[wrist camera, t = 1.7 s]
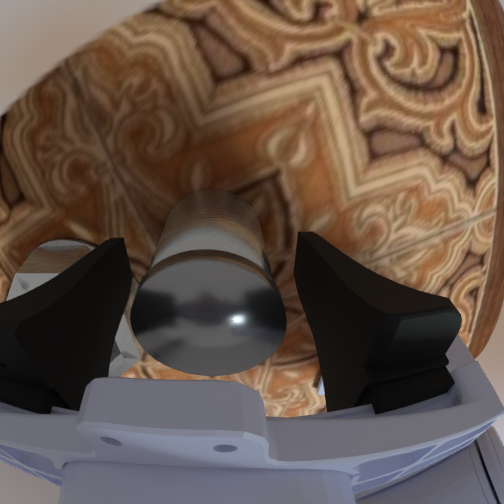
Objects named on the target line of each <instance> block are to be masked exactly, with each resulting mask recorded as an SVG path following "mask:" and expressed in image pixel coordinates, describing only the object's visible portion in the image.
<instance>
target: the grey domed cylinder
mask: <svg viewBox="0 0 504 504" xmlns="http://www.w3.org/2000/svg"><path fill="white" fill-rule="evenodd" d="M130 323H131V328H132V331H133V333H134V336H135V338H136V339H137V341H138V343H139V344H140V345H141V347H142V348H143V349H144V350H145V351H146V352H147V353H148V354H149V355H150V356H152V357H153V358H154V359H156V360H157V361H159V362H161V363H162V364H164V365H166V366H168V367H170V368H173V369H176V370H178V371H182V372H185V373H190V374H195V375H203V376H220V375H228V374H234V373H238V372H241V371H244V370H247V369H250V368H252V367H254V366H256V365H258V364H260V363H262V362H263V361H264V360H266V359H267V358H269V357H270V356H271V355H272V354H273V353H274V352H275V351H276V349H277V348H278V347H279V345H280V344H281V342H282V340H283V338H284V336H285V332H286V325H287V320H286V313H285V309H284V305H283V301H282V297H281V294H280V291H279V288H278V286H277V285H276V283H275V281H274V280H273V279H272V275H271V270H270V266H269V261H268V257H267V253H266V248H265V244H264V240H263V235H262V231H261V227H260V222H259V219H258V216H257V215H256V213H255V211H254V209H253V208H252V207H251V206H250V205H249V204H248V202H246V201H245V200H244V199H243V198H241V197H240V196H238V195H236V194H234V193H231V192H228V191H225V190H219V189H205V190H200V191H196V192H194V193H191V194H189V195H187V196H185V197H184V198H183V199H181V200H180V201H179V202H178V203H177V204H176V205H175V206H174V207H173V209H172V210H171V212H170V214H169V216H168V219H167V221H166V224H165V227H164V229H163V232H162V235H161V237H160V240H159V243H158V245H157V248H156V251H155V254H154V257H153V259H152V262H151V265H150V268H149V270H148V271H147V273H146V274H145V275H144V277H143V278H142V280H141V282H140V284H139V286H138V289H137V292H136V295H135V297H134V300H133V304H132V307H131V311H130Z"/></svg>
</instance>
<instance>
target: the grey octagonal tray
mask: <svg viewBox="0 0 504 504" xmlns="http://www.w3.org/2000/svg"><path fill="white" fill-rule="evenodd" d="M96 247H97V246H96V245H93V244H91V243H88V242H85V241H82V240H78V239H72V238H56V239H51V240H48V241H45V242H43V243H41V244H40V245H38V246H37V247H36V248H35V249H34V250H33V251H32V252H31V254H30V255H29V256H28V258H27V260H26V261H25V262H24V263H23V264H22V266H21V267H20V268H19V269H18V271H17V272H16V273H15V276H14V279H13V282H12V285H11V288H10V291H9V294H8V297H7V301H8V300H10V299H13V298H15V297H17V296H20V295H22V294H24V293H26V292H28V291H30V290H32V289H34V288H36V287H38V286H40V285H42V284H44V283H45V282H47V281H49V280H50V279H52V278H54V277H55V276H57V275H58V274H60V273H61V272H63V271H64V270H66V269H67V268H69V267H70V266H71V265H73V264H74V263H76V262H77V261H78V260H80V259H81V258H82V257H84V256H85V255H86V254H88V253H89V252H91V251H92V250H93V249H95V248H96ZM132 276H133V280H132V285H131V290H130V295H129V298H128V301H127V304H126V307H125V310H124V313H123V316H122V319H121V322H120V325H119V328H118V331H117V334H116V337H115V341H114V344H113V349H112V354H111V360H110V366H109V374H108V377H120V376H121V375H122V374H123V373H124V372H126V371H127V370H128V369H129V368H130V367H132V366H133V365H134V364H135V363H137V362H138V361H139V360H140V359H141V355H142V350H143V348H142V347H141V345H140V344H139V343H138V341H137V339H136V338H135V336H134V333H133V331H132V328H131V323H130V311H131V307H132V304H133V300H134V297H135V295H136V292H137V289H138V286H139V284H140V283H139V282H138V280H137V279H136V277H135V276H134V275H133V274H132Z"/></svg>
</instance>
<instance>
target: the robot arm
mask: <svg viewBox="0 0 504 504" xmlns="http://www.w3.org/2000/svg"><path fill="white" fill-rule="evenodd" d="M294 277H295V282H296V287H297V291H298V295H299V297H300V300H301V303H302V306H303V309H304V311H305V314H306V317H307V320H308V323H309V325H310V328H311V331H312V334H313V337H314V341H315V345H316V349H317V354H318V358H319V363H320V369H321V374H322V375H321V378H320V381H319V384H318V387H317V393H318V394H319V395H325V399H326V407H327V413H320V414H314V415H306V416H299V417H290V418H285V417H268V416H265V409H264V402H263V400H262V398H261V396H260V394H259V392H258V391H256V390H254V389H252V388H250V387H247V386H245V385H243V384H241V383H239V382H231V381H222V380H164V379H142V378H126V377H108V374H109V366H110V360H111V354H112V349H113V344H114V341H115V337H116V334H117V331H118V328H119V325H120V322H121V319H122V316H123V313H124V310H125V307H126V304H127V301H128V298H129V295H130V290H131V285H132V280H133V276H132V272H131V268H130V264H129V260H128V255H127V251H126V246H125V242H124V237H123V238H110V239H108V240H106V241H105V242H103V243H102V244H100V245H99V246H97V247H96V248H95V249H93V250H92V251H91V252H89V253H88V254H86V255H85V256H84V257H82V258H81V259H80V260H78V261H77V262H76V263H74V264H73V265H71V266H70V267H69V268H67V269H66V270H64V271H63V272H61V273H60V274H58V275H57V276H55V277H54V278H52V279H50V280H49V281H47V282H45V283H44V284H42V285H40V286H38V287H36V288H34V289H32V290H30V291H28V292H26V293H24V294H22V295H20V296H17V297H15V298H13V299H10V300H8V301H5V302H2V303H0V460H1V461H3V462H5V463H7V464H9V465H11V466H13V467H15V468H18V469H20V470H22V471H24V472H26V473H28V474H31V475H33V476H35V477H38V478H40V479H42V480H45V481H47V482H50V483H53V484H55V485H58V486H60V487H61V489H60V496H59V503H58V504H504V446H503V444H502V441H501V439H500V437H499V435H498V433H497V431H496V430H495V428H494V427H493V426H491V425H492V424H494V423H495V422H496V421H497V420H498V419H499V418H500V417H501V416H502V415H503V414H504V406H503V405H502V403H501V401H500V399H499V397H498V395H497V394H496V392H495V390H494V388H493V386H492V385H491V383H490V381H489V379H488V378H487V376H486V374H485V373H484V371H483V369H482V368H481V366H480V365H479V363H478V361H475V359H474V358H473V356H472V354H471V353H470V351H469V350H468V348H467V347H466V345H465V344H464V342H463V341H462V339H461V338H460V336H459V335H458V332H459V330H460V326H461V322H462V319H461V314H460V313H459V311H458V310H457V309H456V307H455V306H454V305H453V303H452V302H451V301H450V299H449V298H446V297H442V296H438V295H433V294H429V293H425V292H422V291H419V290H416V289H412V288H409V287H407V286H404V285H401V284H399V283H396V282H394V281H392V280H389V279H387V278H385V277H383V276H381V275H379V274H377V273H375V272H373V271H371V270H369V269H367V268H366V267H364V266H362V265H361V264H359V263H357V262H356V261H354V260H353V259H351V258H350V257H348V256H347V255H345V254H344V253H342V252H341V251H339V250H338V249H337V248H335V247H334V246H333V245H331V244H330V243H329V242H327V241H326V240H324V239H323V238H322V237H320V236H319V235H317V234H316V233H314V232H298V238H297V248H296V257H295V266H294Z"/></svg>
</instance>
